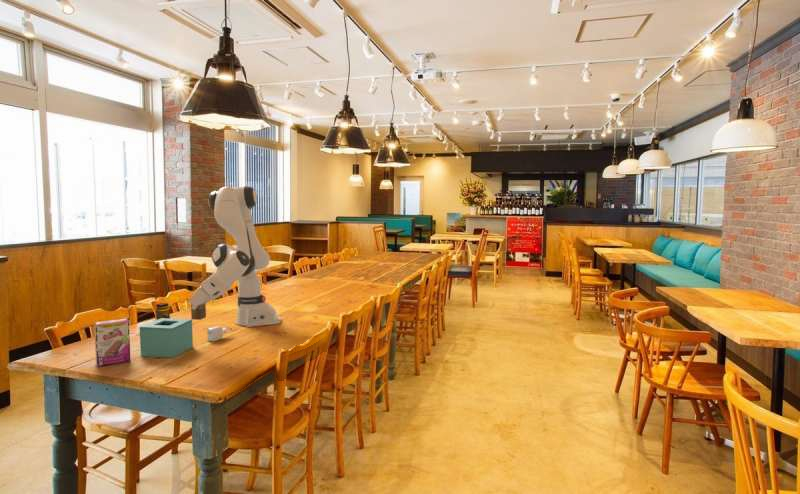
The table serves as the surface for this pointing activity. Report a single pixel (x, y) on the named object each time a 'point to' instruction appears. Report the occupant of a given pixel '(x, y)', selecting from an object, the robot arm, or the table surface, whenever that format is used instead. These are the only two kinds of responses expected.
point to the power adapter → (216, 333)
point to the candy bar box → (112, 342)
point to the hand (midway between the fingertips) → (196, 306)
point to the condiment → (162, 311)
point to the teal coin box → (166, 337)
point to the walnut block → (199, 312)
